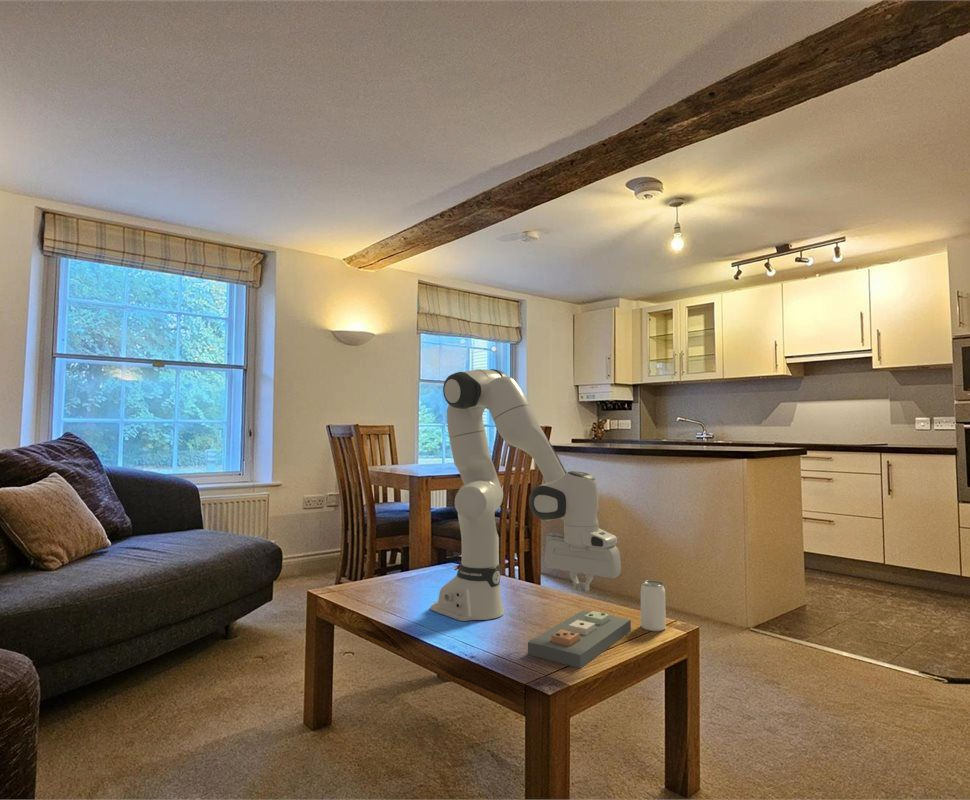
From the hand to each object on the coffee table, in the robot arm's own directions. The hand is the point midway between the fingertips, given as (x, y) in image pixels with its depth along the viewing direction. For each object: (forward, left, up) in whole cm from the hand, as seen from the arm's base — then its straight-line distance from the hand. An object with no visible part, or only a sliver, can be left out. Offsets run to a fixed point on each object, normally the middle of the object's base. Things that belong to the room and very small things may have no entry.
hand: (581, 590), depth 150 cm
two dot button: (0, +9, -12) cm, 15 cm away
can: (+11, +21, -13) cm, 27 cm away
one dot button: (0, 0, -12) cm, 12 cm away
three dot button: (0, -9, -12) cm, 15 cm away
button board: (0, 0, -13) cm, 13 cm away
